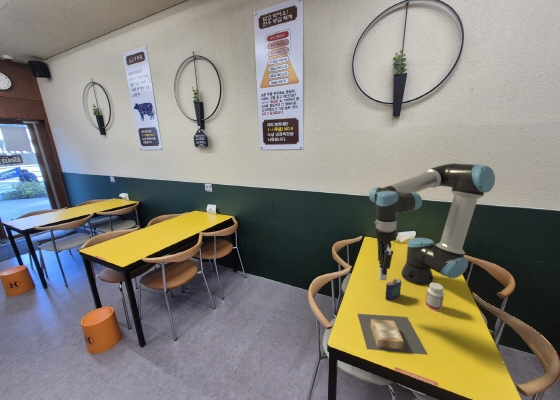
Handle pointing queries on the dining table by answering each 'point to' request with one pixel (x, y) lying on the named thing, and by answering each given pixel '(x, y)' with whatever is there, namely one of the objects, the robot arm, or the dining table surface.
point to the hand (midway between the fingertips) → (382, 279)
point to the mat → (405, 330)
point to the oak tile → (386, 334)
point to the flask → (393, 289)
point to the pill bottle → (434, 297)
